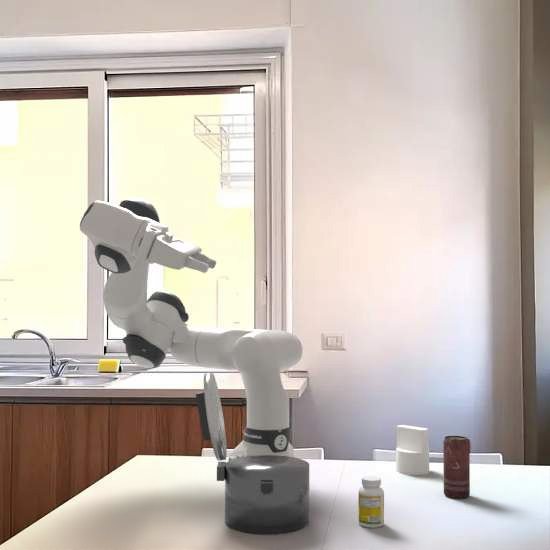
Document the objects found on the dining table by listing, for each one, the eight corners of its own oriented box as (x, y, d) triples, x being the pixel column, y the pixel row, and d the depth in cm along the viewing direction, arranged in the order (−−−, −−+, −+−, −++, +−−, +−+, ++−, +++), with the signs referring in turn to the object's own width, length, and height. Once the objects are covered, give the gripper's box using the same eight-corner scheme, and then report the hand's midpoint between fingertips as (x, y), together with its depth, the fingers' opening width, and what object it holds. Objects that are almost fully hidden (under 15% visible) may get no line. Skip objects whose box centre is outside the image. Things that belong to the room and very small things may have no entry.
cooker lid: (223, 469, 142) (203, 472, 142) (228, 449, 161) (211, 452, 161) (207, 377, 143) (188, 380, 143) (215, 368, 162) (197, 371, 162)
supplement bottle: (375, 530, 145) (374, 482, 146) (353, 524, 149) (353, 478, 149) (389, 523, 150) (388, 477, 150) (367, 518, 153) (367, 473, 153)
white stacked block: (435, 471, 196) (435, 427, 197) (416, 476, 190) (416, 431, 190) (408, 465, 203) (408, 423, 203) (389, 471, 196) (389, 427, 197)
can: (471, 500, 168) (471, 440, 168) (444, 498, 169) (443, 439, 169) (470, 493, 174) (469, 435, 174) (443, 491, 175) (443, 434, 175)
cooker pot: (212, 538, 140) (213, 477, 140) (221, 504, 163) (221, 452, 163) (312, 539, 140) (312, 478, 140) (306, 505, 163) (306, 452, 164)
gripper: (159, 252, 164) (214, 275, 164) (134, 259, 144) (197, 286, 143) (169, 227, 163) (224, 250, 163) (145, 230, 143) (208, 257, 143)
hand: (211, 267), depth 153 cm, fingers open, 8 cm apart
